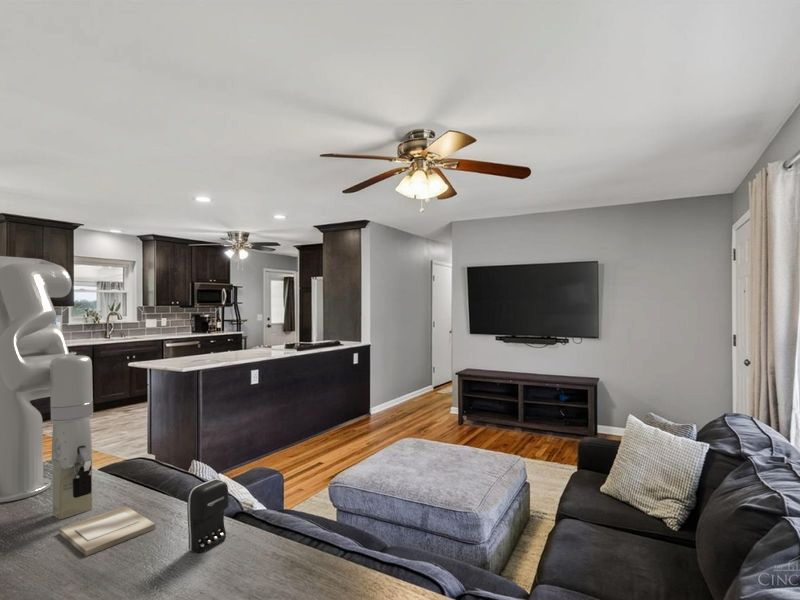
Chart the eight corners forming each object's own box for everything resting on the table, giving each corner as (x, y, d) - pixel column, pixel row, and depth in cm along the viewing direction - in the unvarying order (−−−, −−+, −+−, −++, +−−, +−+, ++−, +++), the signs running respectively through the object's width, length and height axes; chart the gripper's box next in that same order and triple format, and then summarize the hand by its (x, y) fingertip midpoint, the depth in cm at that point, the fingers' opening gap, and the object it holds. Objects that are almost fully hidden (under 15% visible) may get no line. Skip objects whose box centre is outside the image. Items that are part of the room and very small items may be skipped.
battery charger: (200, 557, 79) (199, 492, 79) (186, 551, 81) (185, 488, 81) (232, 538, 85) (231, 479, 85) (219, 534, 87) (218, 475, 87)
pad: (59, 533, 88) (59, 527, 88) (125, 510, 98) (125, 504, 98) (86, 556, 80) (86, 549, 80) (155, 528, 90) (155, 522, 90)
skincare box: (59, 520, 94) (59, 462, 94) (51, 515, 96) (51, 459, 97) (93, 509, 99) (93, 454, 99) (85, 504, 102) (84, 450, 102)
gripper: (38, 411, 100) (40, 488, 100) (65, 420, 90) (67, 506, 89) (78, 405, 106) (79, 477, 106) (107, 413, 96) (109, 493, 95)
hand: (74, 490), depth 98 cm, fingers open, 9 cm apart
